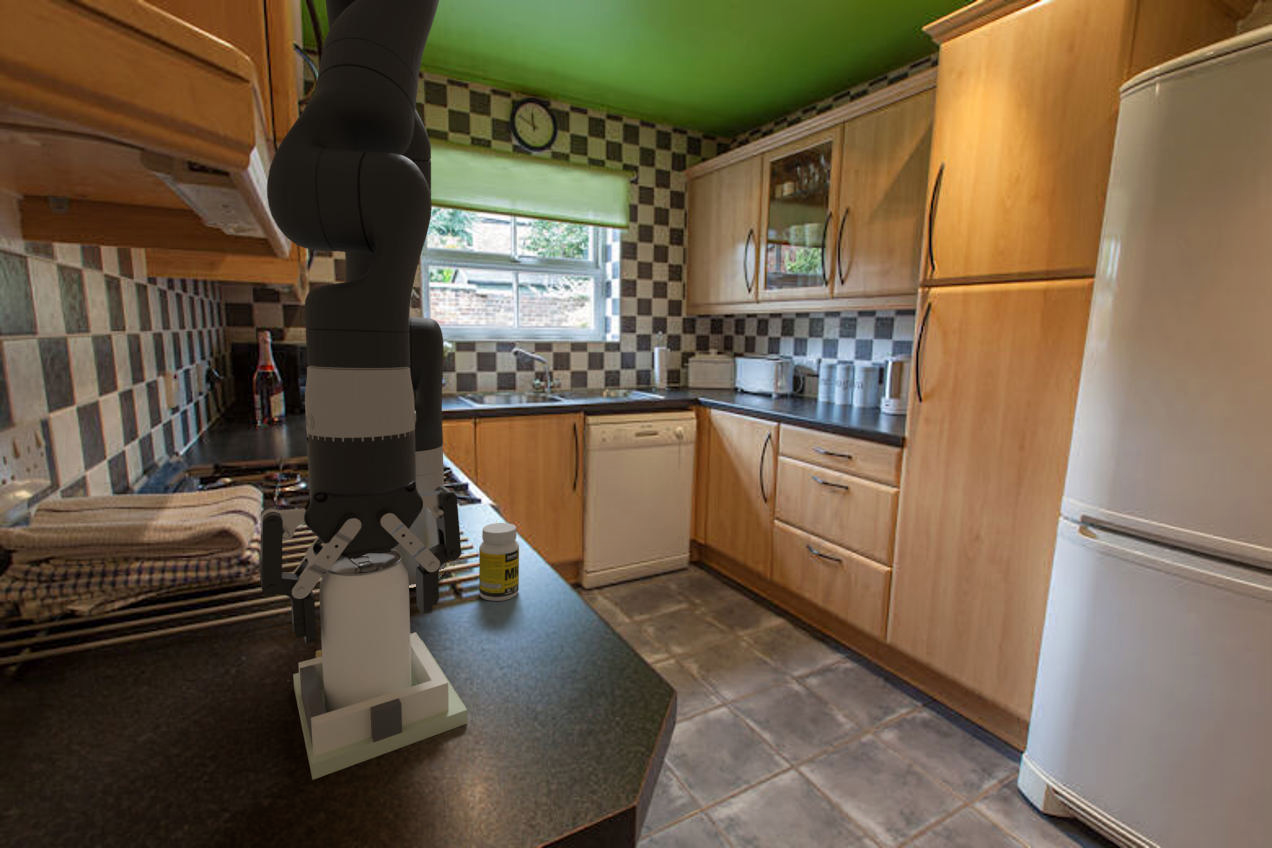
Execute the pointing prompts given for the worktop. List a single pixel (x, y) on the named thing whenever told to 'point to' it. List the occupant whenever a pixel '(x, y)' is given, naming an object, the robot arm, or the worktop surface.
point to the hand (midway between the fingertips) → (369, 624)
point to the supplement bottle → (499, 562)
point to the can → (365, 629)
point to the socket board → (375, 714)
